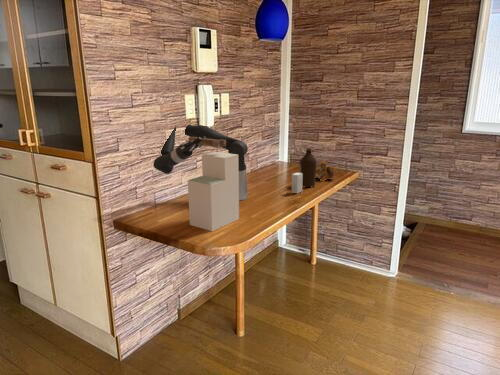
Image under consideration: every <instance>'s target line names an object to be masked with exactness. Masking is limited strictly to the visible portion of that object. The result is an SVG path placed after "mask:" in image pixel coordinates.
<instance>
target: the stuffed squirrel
mask: <svg viewBox="0 0 500 375" xmlns="http://www.w3.org/2000/svg"><path fill="white" fill-rule="evenodd" d="M327 165H328V163H327V162H326V161H324V160H322V161H320V162H319V163H318V164H317V168H318V169H317V168H316V178H319V179H320V180H324V179H329V178H332V179H333V178H334V175H335V174H336V173H337V169H336V167H334V165H328V166H327ZM319 179H318V180H319Z"/></svg>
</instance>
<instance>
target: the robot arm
mask: <svg viewBox="0 0 500 375" xmlns="http://www.w3.org/2000/svg"><path fill="white" fill-rule="evenodd" d="M175 131H176V127H175V128H174V130H173V131H172V133H171V135H170V136H169V138H168V139H167V141H166V142H165V144H164V146H163V148H162V150H161V154H162V156H161V155H160V156H158V157H156V158H155V159H154V161H153V163H152V164H153V168H154V169H156V170H157V171H159V172H161V173H163V174H166V175H168V174H170V173H172V171H173V170H174V167H175V166H177V165H179V164H180V163H182V162H184V161H185V160H187V159H188V158H190V157H192V155H193V152H194V151H195V150H197V149H198V148H202V147H203V145H196V144H198V143H199V142H201V139H200V138H207V139H217V140H221V139H222V140H226V146H225V147H220V148H221V149H225V150H227V151H228V152H227V153H229V154H237V155H238V167H239V201H244V200H246V199H247V198H248V181H247V164H246V163H245V162H246V161H245V155H246V154H247V153H248V151H249V150H248V145H247V143H246V142H244V141H242V140H240V139H237V138H234V137H230V136H227V135H225V134H224V133H222V132H220V131H217V130H216V129H215V130H214V129H213V128H211V127H208V126H205V125H203V124H202V125H201V124H198V125H197V124H196V125H191V124H189V125H188V126H187V127H186V129H185V136H188V138H189V137H198V138H197V139H195V140H193V141H189V140H188V142H182V143H181V144H179V145H178V146H177V147H175V145H176V144H175V143H176V142H175V141H176V132H175Z"/></svg>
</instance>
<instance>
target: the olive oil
mask: <svg viewBox="0 0 500 375" xmlns="http://www.w3.org/2000/svg"><path fill="white" fill-rule="evenodd" d="M317 167H318V164H317V160H316V157H315V156H314V155H313V154H312V147H306V150H305V155H303V156H302V157H301V159H300V161H299V173H303V181H302V186H305V187H311V186H314V185H316V179H315V177H316V176H317V173H316V169H317ZM305 187H304V188H305ZM314 187H315V186H314Z"/></svg>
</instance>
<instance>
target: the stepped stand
mask: <svg viewBox="0 0 500 375" xmlns="http://www.w3.org/2000/svg"><path fill="white" fill-rule="evenodd" d="M201 167H202V168H201V169H202V172H201V173H202V175H201V176H197V177H194V178H190V179H188V180H187V193H188V196H187V197H188V214H189V225H190V226H192V227H196V228H200V229H204V230H206V231H210V232H214V231H216V230H218V229H221V228H222V227H225V226H227V225H228V224H230V223H233V222H236V221H238V220H239V219H240V200H239V167H238V155H237V154H229V153H228V152H221V151H220V152H219V151H214V152H213V151H212V152H209V153H203V154H201Z"/></svg>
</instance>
